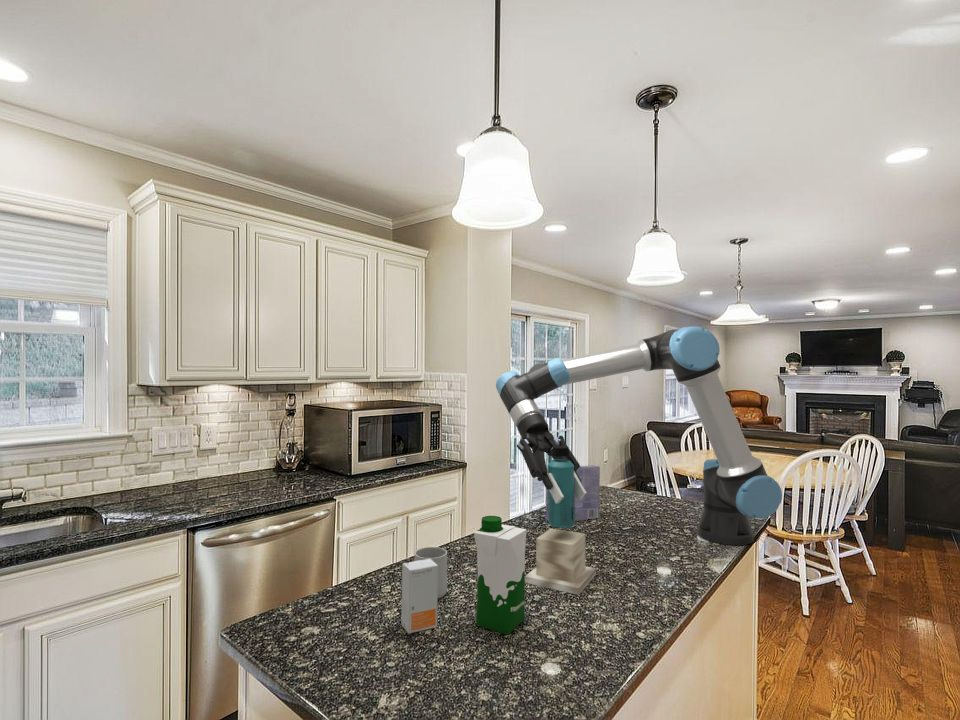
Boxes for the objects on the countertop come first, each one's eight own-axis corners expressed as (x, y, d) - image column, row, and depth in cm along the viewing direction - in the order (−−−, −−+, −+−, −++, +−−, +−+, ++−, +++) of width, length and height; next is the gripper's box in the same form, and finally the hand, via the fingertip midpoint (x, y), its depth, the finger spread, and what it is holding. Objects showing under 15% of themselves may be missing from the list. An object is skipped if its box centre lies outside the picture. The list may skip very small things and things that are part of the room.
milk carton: (492, 608, 107) (492, 511, 107) (531, 619, 102) (531, 518, 102) (469, 625, 99) (469, 522, 100) (510, 639, 94) (510, 529, 95)
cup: (453, 593, 114) (453, 552, 114) (417, 607, 107) (417, 564, 107) (433, 583, 119) (433, 544, 119) (397, 596, 112) (397, 555, 112)
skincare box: (408, 635, 96) (408, 570, 96) (400, 625, 99) (401, 562, 100) (438, 627, 98) (438, 564, 99) (430, 618, 102) (430, 557, 103)
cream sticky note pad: (596, 574, 124) (595, 532, 125) (579, 594, 113) (579, 549, 113) (545, 564, 131) (545, 524, 131) (525, 582, 119) (525, 539, 119)
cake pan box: (595, 515, 176) (595, 463, 176) (603, 519, 171) (603, 465, 171) (544, 520, 169) (544, 466, 170) (551, 524, 165) (551, 469, 165)
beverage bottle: (575, 535, 118) (574, 448, 119) (546, 533, 120) (546, 447, 120) (575, 526, 125) (575, 444, 125) (548, 525, 126) (548, 443, 126)
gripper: (551, 428, 141) (594, 501, 126) (492, 433, 131) (531, 512, 116) (564, 410, 136) (609, 484, 122) (504, 413, 126) (546, 494, 112)
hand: (571, 498), depth 119 cm, fingers closed on beverage bottle, 6 cm apart
